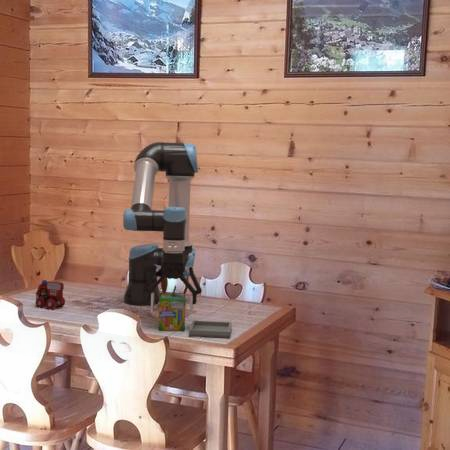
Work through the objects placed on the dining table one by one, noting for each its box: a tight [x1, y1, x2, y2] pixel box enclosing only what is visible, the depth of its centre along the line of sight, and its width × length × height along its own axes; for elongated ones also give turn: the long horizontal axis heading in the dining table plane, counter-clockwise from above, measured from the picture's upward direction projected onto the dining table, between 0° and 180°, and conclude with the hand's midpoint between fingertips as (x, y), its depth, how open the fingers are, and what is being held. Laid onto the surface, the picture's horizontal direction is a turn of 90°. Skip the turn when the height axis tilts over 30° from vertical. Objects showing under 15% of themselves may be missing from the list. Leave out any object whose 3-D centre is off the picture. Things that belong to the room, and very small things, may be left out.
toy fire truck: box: [35, 279, 66, 310], centre depth 263 cm, size 7×12×10 cm, turn 64°
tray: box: [188, 320, 233, 339], centre depth 233 cm, size 14×14×2 cm
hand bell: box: [152, 277, 169, 320], centre depth 253 cm, size 8×8×16 cm
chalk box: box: [157, 285, 187, 332], centre depth 237 cm, size 9×9×15 cm
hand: (171, 312), depth 237 cm, fingers open, 13 cm apart
